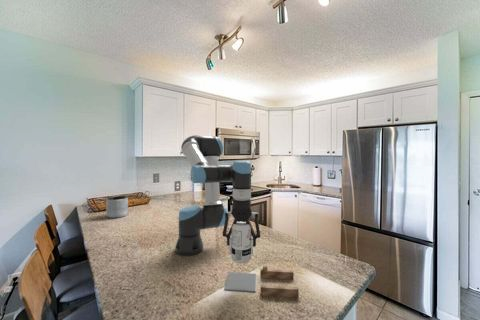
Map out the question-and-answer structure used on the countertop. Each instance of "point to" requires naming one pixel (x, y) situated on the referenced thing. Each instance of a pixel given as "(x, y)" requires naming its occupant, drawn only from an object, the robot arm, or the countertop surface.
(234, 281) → the mat
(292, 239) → the countertop surface
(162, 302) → the countertop surface
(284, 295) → the cradle
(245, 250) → the supplement can
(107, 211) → the planter
